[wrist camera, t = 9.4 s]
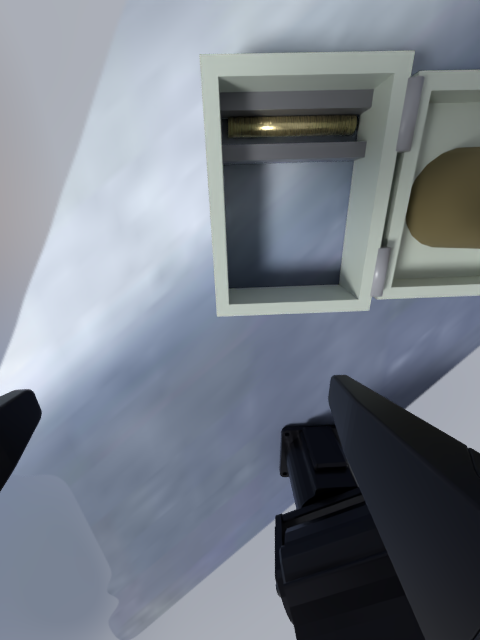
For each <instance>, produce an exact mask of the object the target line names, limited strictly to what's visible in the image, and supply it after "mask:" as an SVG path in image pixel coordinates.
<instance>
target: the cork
mask: <svg viewBox="0 0 480 640" xmlns="http://www.w3.org/2000/svg"><path fill="white" fill-rule="evenodd" d="M406 225H407V227H408V229H409V231H410V233H411V235H412V236H413V237H414V238H415V239H416V240H417V241H418V242H420V243H421V244H424V245H427V246H430V247H436V248H470V249H480V147H463V148H456V149H453V150H450V151H448V152H445V153H442V154H441V155H439V156H438V157H437V158H435V159H434V160H433V161H431V162H430V163H429V164H427V165H426V167H425V168H424V169H423V170H422V172H421V173H420V174H419V175H418V176H417V178H416V179H415V181H414V183H413V185H412V188H411V193H410V198H409V203H408V208H407V212H406Z"/></svg>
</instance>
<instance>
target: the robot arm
mask: <svg viewBox="0 0 480 640" xmlns="http://www.w3.org/2000/svg"><path fill="white" fill-rule="evenodd" d="M328 401H329V406H330V409H331V412H332V415H333V419H334V422H335V425H324V426H304V427H286V428H283V429H282V431H281V450H280V475H281V476H282V477H290V482H291V487H292V491H293V496H294V500H295V505H296V510H294V511H291V512H288V513H286V514H279V515H276V517H275V521H276V526H275V579H276V590H277V593H278V595H279V596H280V597H281V599H282V602H283V605H284V608H285V610H286V613H287V615H288V617H289V619H290V621H291V622H292V623H293V625H294V628H295V633H296V639H297V640H480V453H479V452H477V451H475V450H474V449H472V448H467V446H466V445H465V444H463V443H461V442H460V441H458V440H456V439H455V438H453V437H451V436H449V435H448V434H446V433H444V432H443V431H441V430H439V429H437V428H436V427H434V426H432V425H431V424H429V423H427V422H425V421H424V420H422V419H420V418H419V417H417V416H415V415H413V414H412V413H410V412H408V411H407V410H405V409H403V408H402V407H400V406H398V405H396V404H395V403H393V402H391V401H390V400H388V399H386V398H385V397H383V396H381V395H379V394H378V393H376V392H374V391H373V390H371V389H369V388H367V387H366V386H364V385H362V384H361V383H359V382H357V381H355V380H354V379H352V378H350V377H349V376H347V375H333V376H332V377H331V381H330V388H329V396H328ZM41 414H42V412H41V408H40V406H39V403H38V401H37V399H36V396H35V394H34V392H33V391H32V390H29V389H22V390H14V391H11V392H9V393H7V394H5V395H3V396H0V491H1V490H2V488H3V486H4V485H5V483H6V482H7V480H8V479H9V477H10V475H11V474H12V472H13V470H14V469H15V467H16V465H17V463H18V461H19V460H20V458H21V456H22V454H23V452H24V450H25V448H26V446H27V444H28V442H29V440H30V438H31V436H32V434H33V432H34V431H35V429H36V427H37V425H38V423H39V421H40V419H41ZM287 432H288V433H287Z"/></svg>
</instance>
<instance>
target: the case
mask: <svg viewBox="0 0 480 640" xmlns="http://www.w3.org/2000/svg"><path fill="white" fill-rule="evenodd" d="M414 54H415V50H414V51H358V52H303V53H247V54H199V55H200V69H201V84H202V99H203V114H204V129H205V144H206V159H207V173H208V188H209V203H210V218H211V233H212V248H213V263H214V277H215V292H216V307H217V317H220V316H245V315H271V314H296V313H321V312H346V311H369V308H370V303H371V297H381V296H382V295H383V290H384V285H385V280H386V275H387V270H388V264H389V259H390V254H391V249H392V248H391V247H385V246H381V241H382V235H383V229H384V224H385V218H386V212H387V207H388V201H389V195H390V190H391V184H392V179H393V173H394V167H395V162H396V156H397V153H404V152H409V151H411V146H412V141H413V136H414V130H415V125H416V120H417V115H418V110H419V105H420V100H421V94H422V89H423V84H424V79H425V77H423V76H414V77H411V71H412V66H413V60H414ZM316 115H360V116H359V124H358V132H357V140H356V142H320V143H281V144H242V145H222V127H221V119H222V118H228V117H268V116H316ZM331 161H354V164H353V172H352V181H351V189H350V197H349V205H348V213H347V221H346V229H345V237H344V245H343V254H342V262H341V270H340V278H339V284H337V285H310V286H284V287H257V288H230V289H229V279H228V257H227V236H226V214H225V192H224V170H223V164H257V163H294V162H331Z"/></svg>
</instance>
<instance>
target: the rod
mask: <svg viewBox="0 0 480 640" xmlns="http://www.w3.org/2000/svg"><path fill="white" fill-rule="evenodd" d="M356 124H357V116H356V115H316V116H268V117H228V138H241V137H285V136H328V135H352V134H353V133H354V131H355V128H356Z"/></svg>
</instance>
